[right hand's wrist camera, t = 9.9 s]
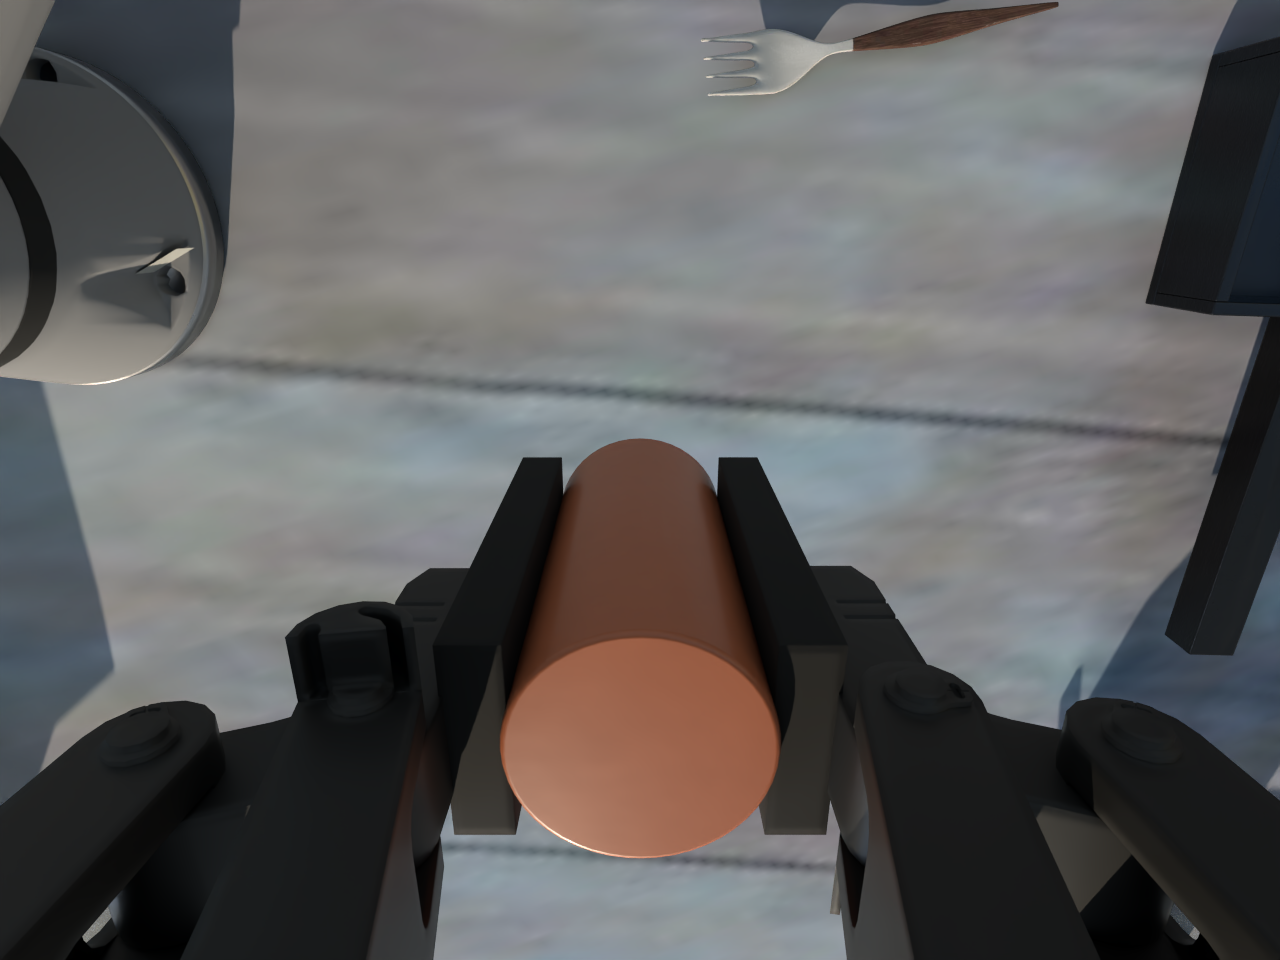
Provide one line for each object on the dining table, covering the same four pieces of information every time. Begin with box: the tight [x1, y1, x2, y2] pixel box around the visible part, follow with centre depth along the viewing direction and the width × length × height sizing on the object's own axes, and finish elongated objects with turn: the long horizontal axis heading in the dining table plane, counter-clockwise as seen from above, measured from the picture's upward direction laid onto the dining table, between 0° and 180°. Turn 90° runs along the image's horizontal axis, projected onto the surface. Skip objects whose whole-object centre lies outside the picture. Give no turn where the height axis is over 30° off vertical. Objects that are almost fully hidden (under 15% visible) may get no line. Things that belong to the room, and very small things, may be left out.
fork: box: [701, 2, 1058, 96], centre depth 32 cm, size 3×16×2 cm, turn 100°
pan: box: [1146, 37, 1280, 655], centre depth 36 cm, size 29×11×5 cm, turn 178°
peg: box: [500, 439, 781, 858], centre depth 11 cm, size 3×3×7 cm
